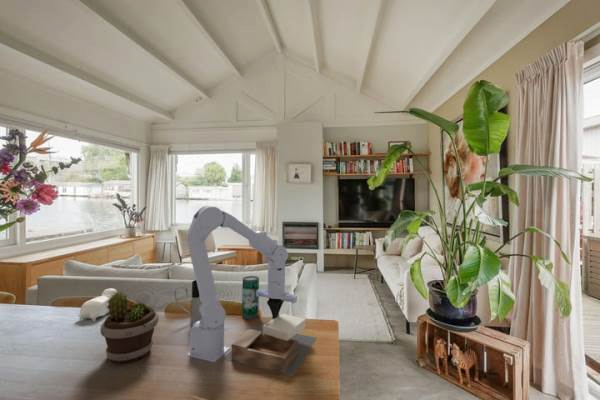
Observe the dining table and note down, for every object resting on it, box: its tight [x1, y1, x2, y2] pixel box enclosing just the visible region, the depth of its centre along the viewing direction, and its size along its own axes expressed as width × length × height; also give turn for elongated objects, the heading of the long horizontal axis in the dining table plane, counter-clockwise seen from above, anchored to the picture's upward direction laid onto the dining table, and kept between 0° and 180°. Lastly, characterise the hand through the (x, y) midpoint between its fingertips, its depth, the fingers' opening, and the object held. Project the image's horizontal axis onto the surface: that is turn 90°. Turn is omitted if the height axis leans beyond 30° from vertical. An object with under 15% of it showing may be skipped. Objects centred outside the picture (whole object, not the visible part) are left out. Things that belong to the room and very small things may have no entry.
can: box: [241, 275, 260, 320], centre depth 110 cm, size 6×6×15 cm
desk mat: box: [221, 326, 317, 378], centre depth 86 cm, size 22×22×1 cm
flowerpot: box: [99, 288, 159, 364], centre depth 82 cm, size 14×15×20 cm
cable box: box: [231, 328, 298, 373], centre depth 81 cm, size 16×10×5 cm, turn 70°
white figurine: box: [77, 287, 118, 322], centre depth 110 cm, size 9×8×15 cm
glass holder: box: [174, 279, 202, 326], centre depth 105 cm, size 9×14×15 cm, turn 103°
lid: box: [262, 313, 306, 341], centre depth 89 cm, size 11×9×3 cm
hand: (275, 320), depth 93 cm, fingers closed, pressing on lid
